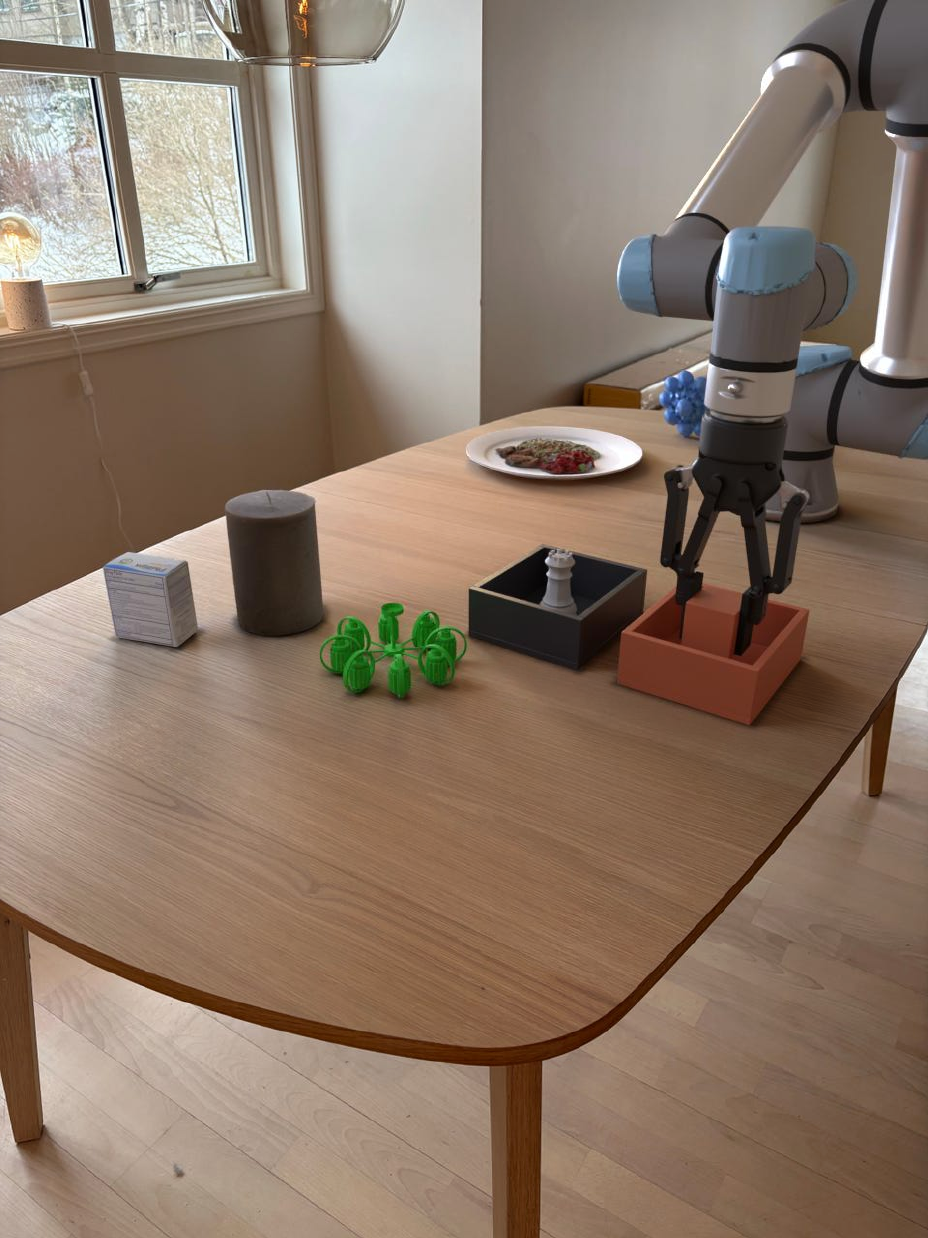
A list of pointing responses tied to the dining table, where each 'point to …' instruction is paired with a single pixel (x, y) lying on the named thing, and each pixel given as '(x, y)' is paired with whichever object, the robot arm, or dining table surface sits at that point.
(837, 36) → the robot arm
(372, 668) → the chandelier
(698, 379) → the grapes
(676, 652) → the terracotta bin
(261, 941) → the dining table surface
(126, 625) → the medicine box
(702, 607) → the terracotta block
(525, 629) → the charcoal bin
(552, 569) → the rook chess piece
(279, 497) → the pillar candle
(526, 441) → the plated food
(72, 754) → the dining table surface
